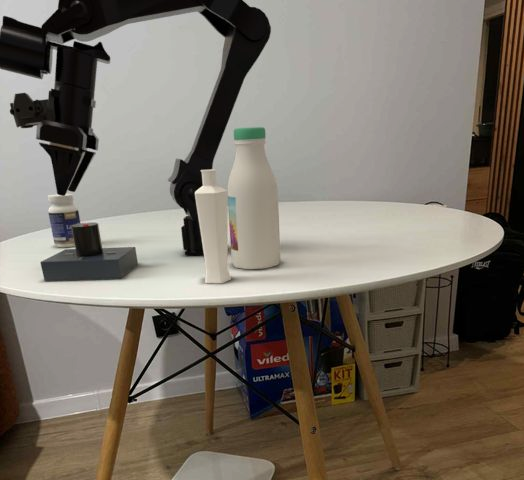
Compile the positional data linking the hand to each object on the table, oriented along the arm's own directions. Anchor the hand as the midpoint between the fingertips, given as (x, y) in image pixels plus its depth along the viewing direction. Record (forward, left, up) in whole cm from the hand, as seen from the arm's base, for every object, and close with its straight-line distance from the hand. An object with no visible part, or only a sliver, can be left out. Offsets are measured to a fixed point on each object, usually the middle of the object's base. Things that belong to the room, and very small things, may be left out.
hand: (66, 193), depth 81 cm
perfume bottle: (-25, +13, -12) cm, 31 cm away
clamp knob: (-4, +6, -9) cm, 11 cm away
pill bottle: (+10, -18, -12) cm, 24 cm away
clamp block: (-4, +6, -12) cm, 14 cm away
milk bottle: (-30, +4, -12) cm, 33 cm away
